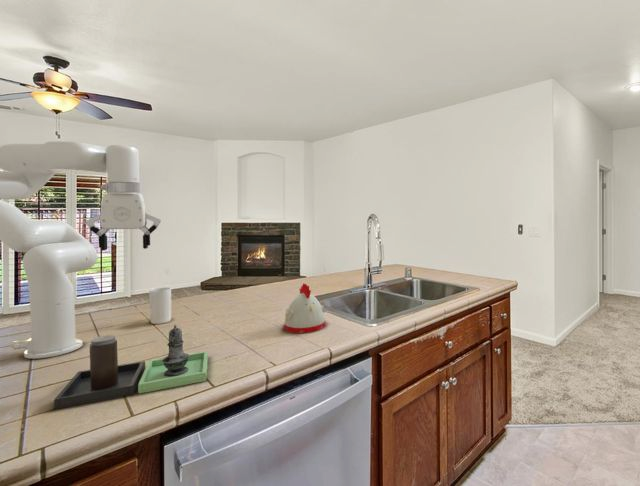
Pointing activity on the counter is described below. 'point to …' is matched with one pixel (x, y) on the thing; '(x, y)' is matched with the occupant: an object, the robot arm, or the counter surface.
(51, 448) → the counter surface
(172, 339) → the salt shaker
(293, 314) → the kitchen timer
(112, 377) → the pepper shaker
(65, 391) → the dark tray
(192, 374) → the pale tray
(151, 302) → the mug
